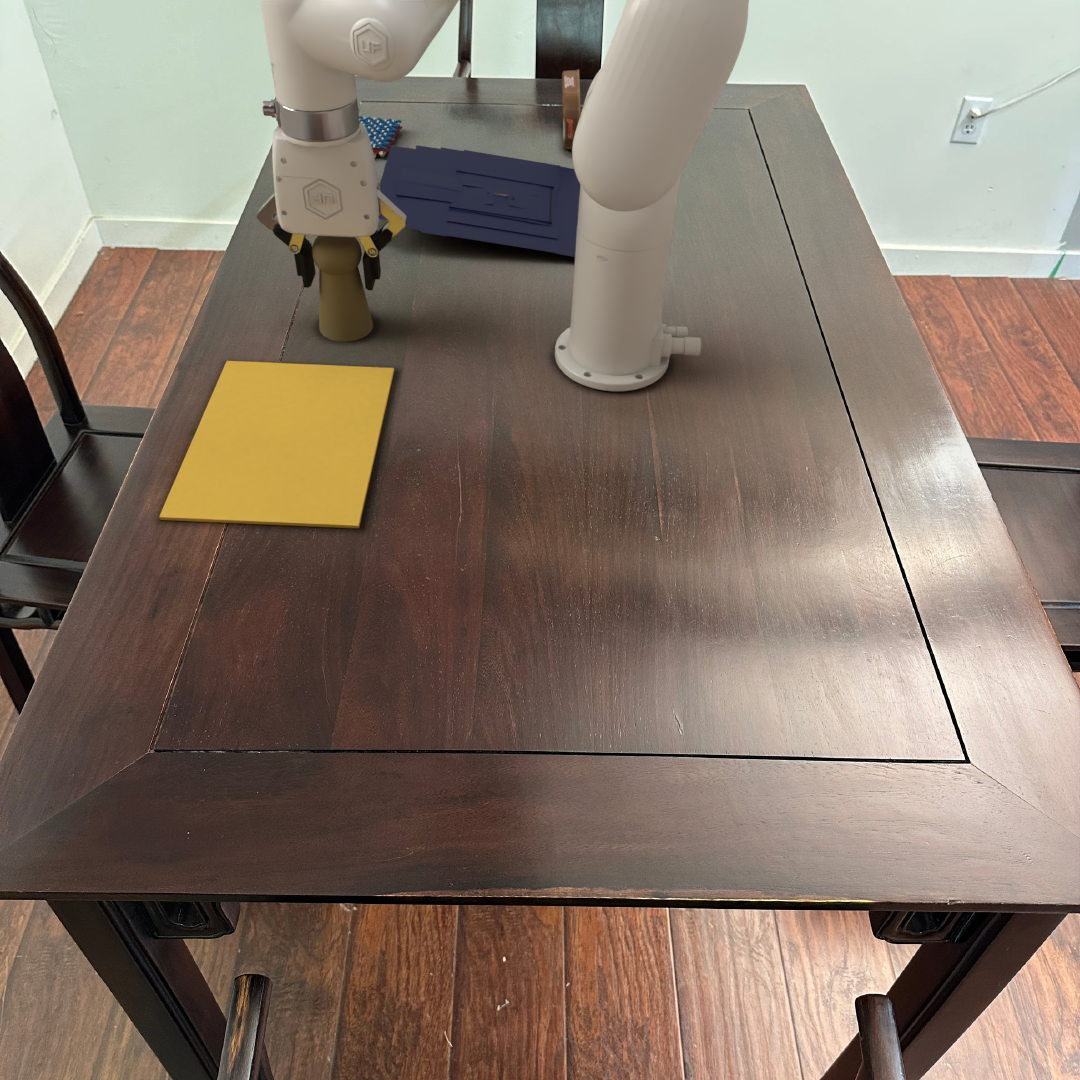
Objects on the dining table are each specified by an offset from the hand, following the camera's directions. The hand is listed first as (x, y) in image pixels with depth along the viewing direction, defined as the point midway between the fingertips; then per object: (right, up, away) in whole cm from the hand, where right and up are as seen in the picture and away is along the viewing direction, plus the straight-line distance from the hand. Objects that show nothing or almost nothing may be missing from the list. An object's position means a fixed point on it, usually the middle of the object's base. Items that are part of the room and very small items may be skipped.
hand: (340, 281), depth 105 cm
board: (-3, -18, -10) cm, 21 cm away
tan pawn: (0, -4, +4) cm, 6 cm away
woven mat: (-5, +30, +38) cm, 49 cm away
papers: (+16, +15, +24) cm, 32 cm away
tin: (+26, +33, +41) cm, 59 cm away
